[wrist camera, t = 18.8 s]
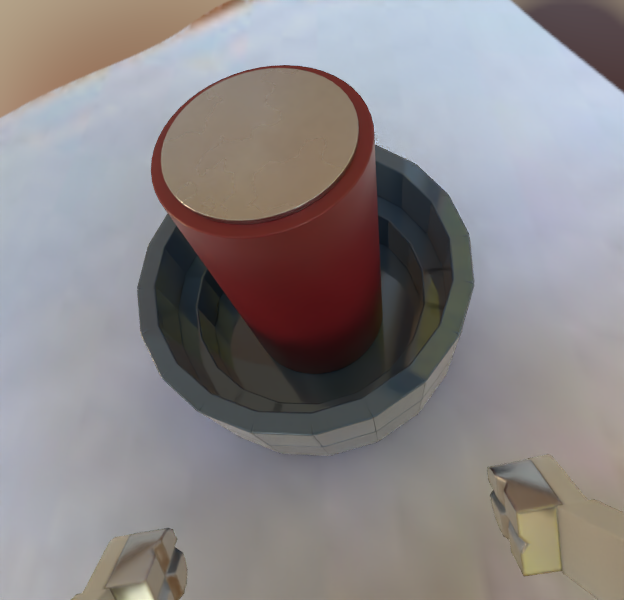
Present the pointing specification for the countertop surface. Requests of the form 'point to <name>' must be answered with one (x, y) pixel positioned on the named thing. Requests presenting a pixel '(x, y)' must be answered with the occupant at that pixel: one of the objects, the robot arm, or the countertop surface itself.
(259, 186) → the can
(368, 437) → the bowl
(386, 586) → the countertop surface
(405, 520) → the countertop surface
